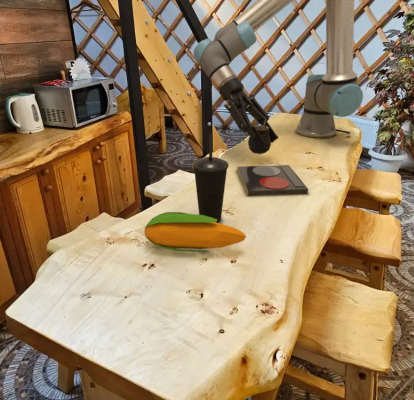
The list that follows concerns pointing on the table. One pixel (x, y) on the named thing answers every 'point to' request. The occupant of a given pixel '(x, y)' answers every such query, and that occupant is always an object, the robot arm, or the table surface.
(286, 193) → the hob
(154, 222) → the corn
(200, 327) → the table surface
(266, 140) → the mate gourd
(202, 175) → the drinking cup
